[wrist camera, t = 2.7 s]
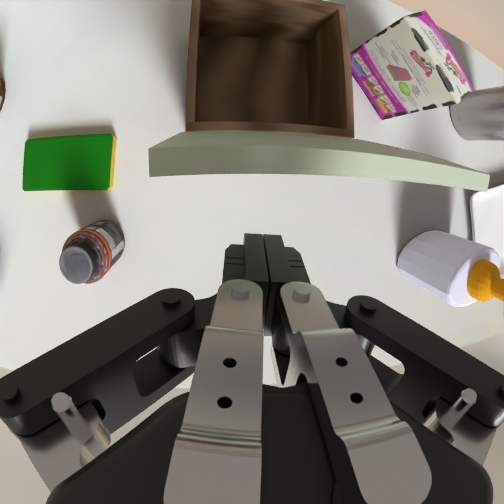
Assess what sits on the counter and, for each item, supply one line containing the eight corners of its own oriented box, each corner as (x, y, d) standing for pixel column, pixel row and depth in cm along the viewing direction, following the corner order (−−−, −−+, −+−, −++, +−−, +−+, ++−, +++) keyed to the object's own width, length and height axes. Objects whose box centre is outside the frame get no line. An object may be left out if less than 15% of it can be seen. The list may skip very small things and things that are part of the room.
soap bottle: (397, 288, 46) (480, 344, 27) (393, 242, 44) (488, 285, 25) (449, 263, 48) (530, 301, 28) (447, 221, 45) (536, 249, 26)
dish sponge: (33, 140, 32) (25, 139, 29) (117, 136, 34) (112, 133, 32) (30, 189, 33) (22, 191, 31) (113, 189, 36) (108, 190, 34)
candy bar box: (400, 107, 39) (476, 91, 23) (380, 121, 39) (458, 106, 23) (361, 48, 35) (426, 8, 20) (339, 59, 35) (403, 16, 20)
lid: (490, 175, 12) (487, 192, 12) (357, 139, 27) (356, 149, 27) (148, 148, 9) (149, 176, 10) (181, 132, 24) (181, 143, 25)
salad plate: (463, 292, 51) (474, 298, 48) (460, 192, 45) (473, 194, 41) (512, 259, 52) (521, 263, 49) (510, 174, 46) (521, 176, 43)
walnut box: (309, 42, 34) (344, 5, 23) (312, 146, 38) (354, 137, 27) (194, 34, 32) (193, -12, 20) (190, 144, 36) (185, 131, 24)
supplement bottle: (99, 269, 38) (68, 302, 27) (79, 231, 36) (41, 252, 25) (133, 251, 38) (110, 280, 27) (114, 211, 36) (82, 226, 25)
